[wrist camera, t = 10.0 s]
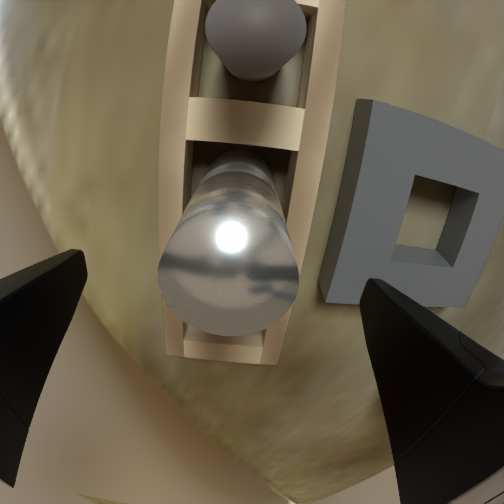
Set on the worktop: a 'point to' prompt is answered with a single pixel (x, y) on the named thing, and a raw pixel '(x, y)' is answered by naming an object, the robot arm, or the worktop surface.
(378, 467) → the worktop surface
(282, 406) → the worktop surface
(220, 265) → the silver metal cylinder
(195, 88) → the rack
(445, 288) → the socket block
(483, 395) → the robot arm
